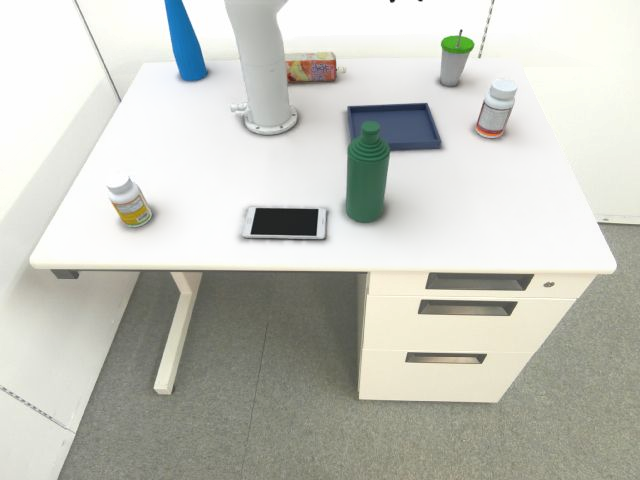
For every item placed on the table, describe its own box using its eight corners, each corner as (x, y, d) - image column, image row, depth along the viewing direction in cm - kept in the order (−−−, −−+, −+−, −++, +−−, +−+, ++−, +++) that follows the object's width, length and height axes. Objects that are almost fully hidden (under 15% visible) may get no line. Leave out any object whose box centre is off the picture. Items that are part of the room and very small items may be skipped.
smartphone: (248, 206, 77) (326, 207, 76) (249, 208, 77) (326, 210, 77) (241, 236, 72) (324, 237, 71) (242, 238, 73) (324, 240, 72)
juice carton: (335, 71, 111) (335, 46, 106) (336, 83, 107) (336, 58, 102) (258, 74, 111) (255, 50, 106) (257, 87, 107) (253, 62, 102)
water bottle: (347, 223, 74) (350, 140, 60) (344, 197, 79) (346, 114, 65) (385, 221, 74) (396, 138, 60) (380, 195, 79) (389, 112, 65)
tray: (351, 152, 88) (352, 144, 86) (347, 113, 98) (347, 105, 96) (439, 148, 88) (441, 141, 86) (426, 110, 98) (427, 102, 96)
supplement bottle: (127, 208, 79) (105, 170, 71) (154, 206, 79) (135, 168, 71) (120, 229, 75) (97, 191, 68) (149, 226, 75) (129, 188, 68)
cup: (445, 71, 109) (458, 12, 97) (470, 82, 105) (486, 21, 94) (427, 82, 106) (438, 22, 94) (452, 93, 102) (467, 32, 90)
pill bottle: (485, 120, 94) (500, 73, 85) (508, 131, 91) (526, 84, 82) (469, 130, 92) (483, 83, 83) (492, 142, 88) (509, 95, 80)
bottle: (175, 79, 111) (133, -53, 88) (189, 66, 115) (152, -63, 92) (199, 83, 109) (162, -51, 86) (211, 70, 114) (180, -61, 90)
